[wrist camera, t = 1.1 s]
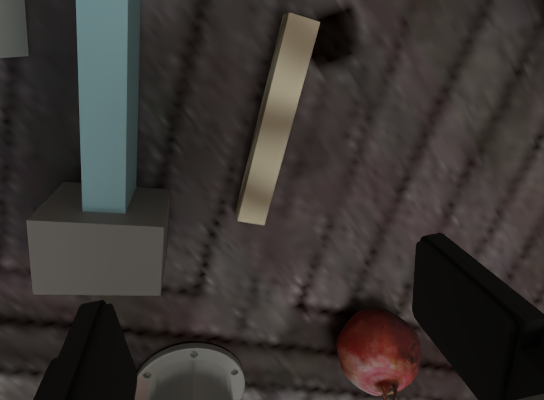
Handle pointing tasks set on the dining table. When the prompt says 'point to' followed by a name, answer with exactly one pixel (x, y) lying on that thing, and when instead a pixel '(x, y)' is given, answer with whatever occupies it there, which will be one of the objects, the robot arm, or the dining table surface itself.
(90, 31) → the teal gray angled bar
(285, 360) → the dining table surface
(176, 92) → the dining table surface
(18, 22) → the bay
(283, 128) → the stick
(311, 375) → the dining table surface
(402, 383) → the fruit
